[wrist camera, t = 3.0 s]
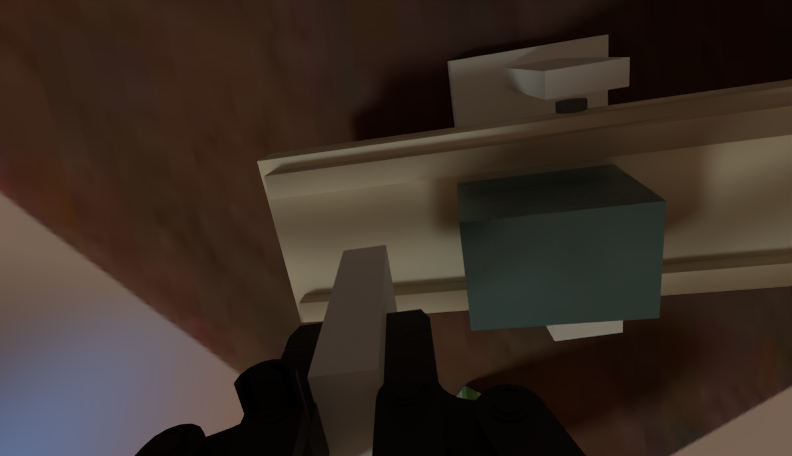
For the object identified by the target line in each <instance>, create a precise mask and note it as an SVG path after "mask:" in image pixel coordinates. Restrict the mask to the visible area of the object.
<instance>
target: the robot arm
mask: <svg viewBox="0 0 792 456" xmlns="http://www.w3.org/2000/svg"><path fill="white" fill-rule="evenodd" d="M234 386H235V388H236V391H237V394H238V397H239V400H240V403H241V406H242V409H243V412H244V417H243V419H242V421H241V423H240V424H239V425H236V426H234V427H232V428H229V429H227V430H224V431H221V432H218V433H216V434H213V435H210V436H207V437H206V436H205V434H204V432H203V430H202V429H201V427H200V426H197V425H194V424H181V425H177V426H175V427H172V428H169V429H166V430H165V431H163V432H161V433H160V434H158V435H156V436H155V437H153V438H152V439H151V440H150V441H149V442H148V443H147V444H145V445H144V446H143V447H142V448H141V449H140V451H139V452H138V453H137V454H136V455H135V456H586V455H585V454H584V453H583V451H582V450H581V449H580V448H579V446H578V445H577V444H576V443H575V441H574V440H573V439H572V438H571V436H570V435H569V434H568V433H567V431H566V430H565V429H564V428H563V426H562V425H561V424H560V423H559V421H558V420H557V419H556V417H555V416H554V415H553V414H552V412H551V411H550V410H549V409H548V407H547V406H546V405H545V404H544V402H543V401H542V400H541V399H540V398H539V397H538V396H537V395H536V394H535V393H533V392H532V391H531V390H528V389H526V388H524V387H521V386H517V385H509V384H505V385H498V386H493V387H491V388H489V389H487V390H485V391H483V393H482V394H481V395H480V396H479V397H478V398H477V400H470V399H464V398H460V397H456V396H454V395H452V394H450V393H448V392H447V391H446V390H444V389H443V388H442V387H441V385H440V384H439V382H438V375H437V367H436V360H435V353H434V346H433V339H432V332H431V325H430V318H429V317H428V316H427V315H426V314H425V313H424V311H423V310H422V309H416V310H408V311H401V312H397V306H396V300H395V294H394V289H393V283H392V277H391V271H390V265H389V260H388V254H387V248H386V245H380V246H373V247H366V248H359V249H351V250H344V251H343V254H342V257H341V261H340V264H339V268H338V271H337V275H336V278H335V282H334V285H333V289H332V292H331V296H330V299H329V303H328V306H327V310H326V314H325V317H324V321H323V323H318V324H310V325H302V326H300V327H299V328H298V329H297V330H296V331H295V332H294V333H293V334H292V335H291V336H290V337H289V339H288V342H287V344H286V347H285V352H283V355H282V357H281V359H272V360H268V361H264V362H260V363H258V364H256V365H254V366H252V367H250V368H249V369H247V370H246V371H245V372H243V373H242V374H241V375H240V376H239V377H238V378H237V380H236V381H235V382H234Z"/></svg>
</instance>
